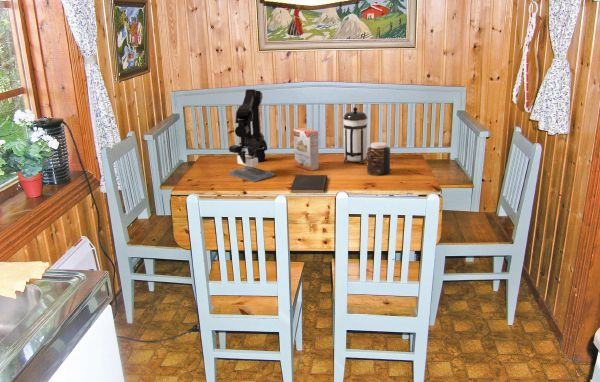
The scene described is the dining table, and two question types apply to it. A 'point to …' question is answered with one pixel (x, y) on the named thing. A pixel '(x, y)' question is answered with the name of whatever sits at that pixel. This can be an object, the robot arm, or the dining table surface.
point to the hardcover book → (309, 184)
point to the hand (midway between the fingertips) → (247, 162)
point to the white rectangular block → (248, 161)
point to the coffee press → (355, 136)
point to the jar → (378, 159)
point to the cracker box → (306, 148)
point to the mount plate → (251, 174)
